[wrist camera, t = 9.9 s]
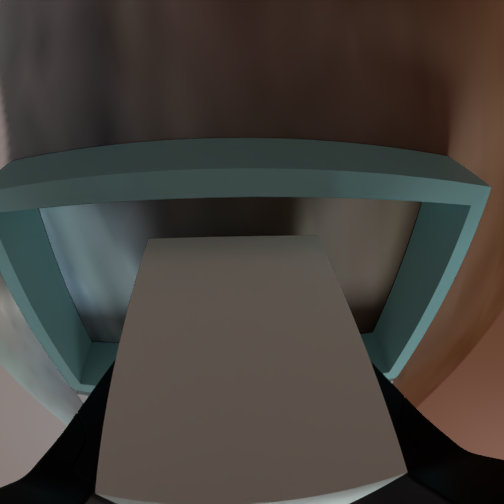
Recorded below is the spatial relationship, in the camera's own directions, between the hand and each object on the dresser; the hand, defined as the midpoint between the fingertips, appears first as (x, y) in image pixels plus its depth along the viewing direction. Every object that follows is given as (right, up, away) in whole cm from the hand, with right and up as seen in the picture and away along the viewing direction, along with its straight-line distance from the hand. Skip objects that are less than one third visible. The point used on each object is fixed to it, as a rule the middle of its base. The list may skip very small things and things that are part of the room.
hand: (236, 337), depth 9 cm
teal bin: (0, +2, +2) cm, 3 cm away
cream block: (0, +1, +1) cm, 2 cm away
